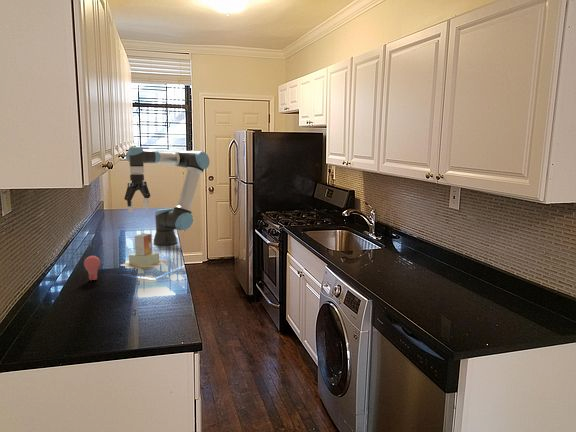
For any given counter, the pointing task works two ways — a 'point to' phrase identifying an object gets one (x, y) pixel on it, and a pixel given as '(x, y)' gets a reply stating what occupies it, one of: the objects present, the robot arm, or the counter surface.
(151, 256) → the base block
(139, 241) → the small box
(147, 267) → the birch board
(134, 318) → the counter surface
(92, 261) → the light bulb
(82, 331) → the counter surface
